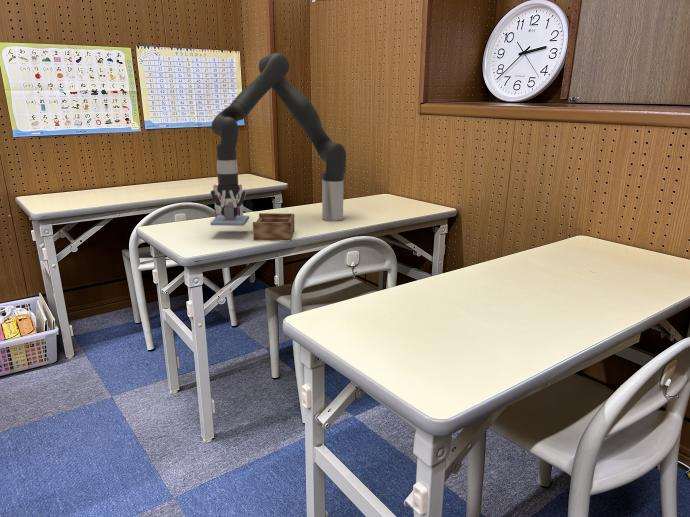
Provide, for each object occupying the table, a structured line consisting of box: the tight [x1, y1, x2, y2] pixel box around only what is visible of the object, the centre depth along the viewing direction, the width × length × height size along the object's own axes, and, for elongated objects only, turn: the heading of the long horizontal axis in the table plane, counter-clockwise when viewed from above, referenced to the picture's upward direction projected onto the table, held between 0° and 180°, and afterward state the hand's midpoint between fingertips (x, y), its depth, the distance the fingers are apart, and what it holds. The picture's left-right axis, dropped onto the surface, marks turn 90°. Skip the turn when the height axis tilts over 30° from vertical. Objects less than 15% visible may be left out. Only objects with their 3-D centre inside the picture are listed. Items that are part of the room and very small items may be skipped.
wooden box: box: [252, 212, 296, 242], centre depth 194 cm, size 14×15×7 cm
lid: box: [210, 205, 250, 227], centre depth 193 cm, size 12×12×6 cm
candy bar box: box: [212, 182, 244, 219], centre depth 212 cm, size 11×5×16 cm, turn 84°
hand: (230, 216), depth 193 cm, fingers closed on lid, 3 cm apart
